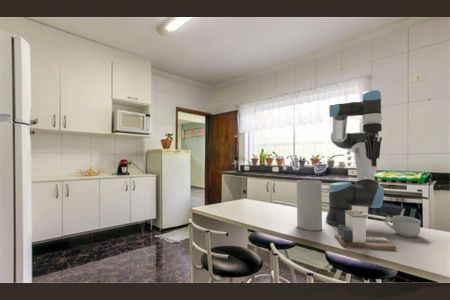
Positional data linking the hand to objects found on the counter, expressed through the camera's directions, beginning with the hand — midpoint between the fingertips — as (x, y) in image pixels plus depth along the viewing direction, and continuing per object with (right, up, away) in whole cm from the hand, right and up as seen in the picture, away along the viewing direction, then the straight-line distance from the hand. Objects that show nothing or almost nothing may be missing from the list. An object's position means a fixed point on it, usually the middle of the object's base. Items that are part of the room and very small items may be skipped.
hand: (373, 173), depth 106 cm
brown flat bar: (-9, -29, -7) cm, 31 cm away
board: (-9, -30, -7) cm, 32 cm away
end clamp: (-17, -29, -6) cm, 34 cm away
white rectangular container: (-12, -29, -7) cm, 32 cm away
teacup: (+17, -31, +4) cm, 36 cm away
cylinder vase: (-25, -31, +15) cm, 42 cm away
